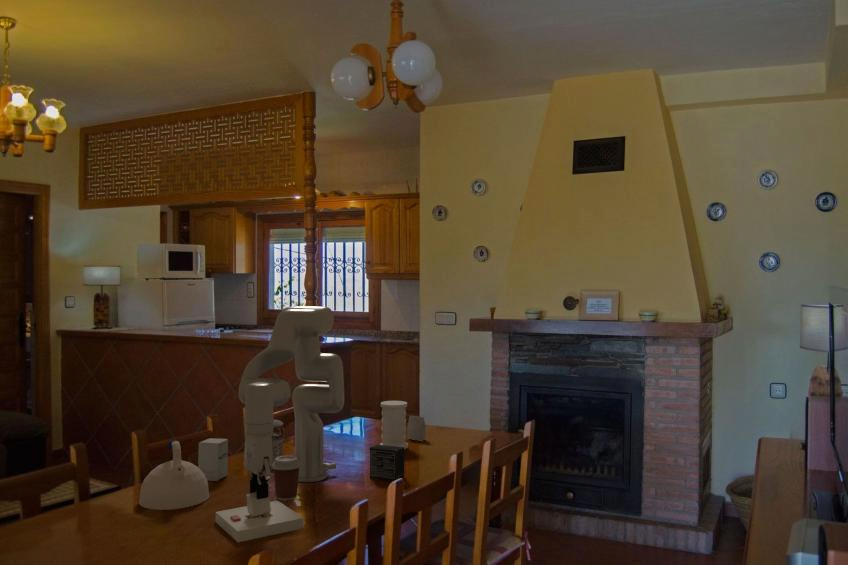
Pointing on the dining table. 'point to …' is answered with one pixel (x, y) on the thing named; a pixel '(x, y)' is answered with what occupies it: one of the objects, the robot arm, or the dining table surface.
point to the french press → (277, 442)
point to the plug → (258, 505)
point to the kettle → (174, 484)
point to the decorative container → (394, 423)
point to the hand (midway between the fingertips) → (259, 495)
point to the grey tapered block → (416, 428)
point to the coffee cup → (286, 477)
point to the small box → (386, 462)
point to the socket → (258, 522)
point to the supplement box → (213, 458)
